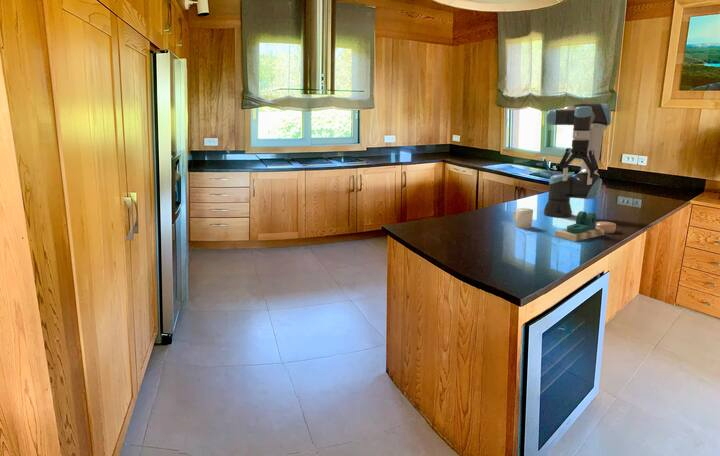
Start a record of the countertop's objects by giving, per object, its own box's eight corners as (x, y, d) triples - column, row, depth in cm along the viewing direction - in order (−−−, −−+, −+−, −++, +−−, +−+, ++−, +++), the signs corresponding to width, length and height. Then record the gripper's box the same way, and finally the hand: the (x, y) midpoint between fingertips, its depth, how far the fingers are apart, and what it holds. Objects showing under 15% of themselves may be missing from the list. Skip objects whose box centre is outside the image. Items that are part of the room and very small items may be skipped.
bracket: (581, 225, 249) (583, 210, 247) (595, 228, 244) (597, 212, 242) (563, 231, 237) (565, 215, 235) (577, 234, 232) (579, 217, 230)
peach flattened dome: (602, 228, 256) (603, 220, 255) (618, 232, 248) (619, 224, 247) (591, 230, 251) (592, 222, 250) (608, 234, 244) (609, 226, 243)
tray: (583, 230, 251) (584, 224, 250) (603, 234, 242) (604, 229, 241) (554, 236, 240) (555, 230, 239) (574, 241, 231) (575, 235, 230)
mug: (518, 223, 267) (519, 206, 265) (534, 227, 258) (536, 210, 256) (508, 225, 263) (509, 208, 261) (524, 229, 254) (525, 211, 252)
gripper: (553, 138, 251) (550, 180, 256) (600, 141, 230) (595, 187, 236) (563, 137, 254) (559, 178, 260) (609, 140, 234) (604, 185, 240)
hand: (576, 182), depth 248 cm, fingers open, 13 cm apart
